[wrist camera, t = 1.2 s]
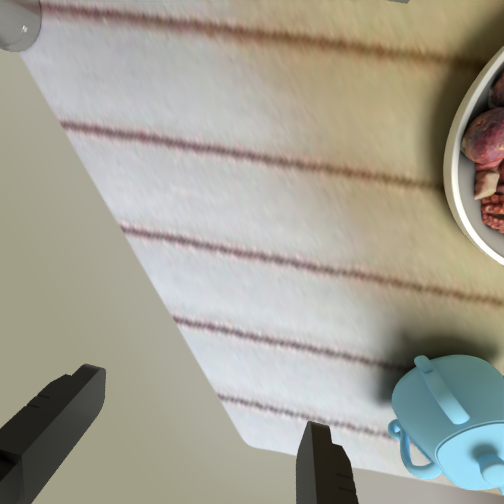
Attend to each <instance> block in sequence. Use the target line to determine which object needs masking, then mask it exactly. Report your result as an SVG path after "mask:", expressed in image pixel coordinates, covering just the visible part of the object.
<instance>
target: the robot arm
mask: <svg viewBox="0 0 504 504" xmlns="http://www.w3.org/2000/svg"><path fill="white" fill-rule="evenodd" d="M40 26H41V10H40V5H39V1H38V0H0V48H1V49H3V50H6V51H10V52H20V51H23V50H25V49H27V48H28V47H30V46H31V45H32V44H33V43H34V41H35V40H36V38H37V36H38V34H39V30H40ZM105 379H106V370H105V369H104V368H101V367H96V366H93V365H89V364H84V365H82V366H81V367H80V368H79V369H78V370H77V371H76V372H75V373H74V374H73V375H72V376H71V375H67V374H65V375H63V376H61V377H60V378H58V379H56V380H54V381H52V382H50V383H49V384H48V385H47V386H46V387H45V388H44V389H43V390H42V391H41V392H39V393H38V395H37V396H36V397H34V398H33V399H32V400H31V401H30V402H29V403H28V404H27V406H24V407H23V408H22V409H21V410H20V411H19V412H18V413H17V414H16V415H15V416H13V417H12V419H10V420H9V421H8V422H7V423H6V424H5V425H4V426H3V427H2V428H1V429H0V504H31V503H32V502H33V501H34V499H35V498H36V497H37V495H38V494H39V493H40V491H41V490H42V489H43V487H44V486H45V485H46V483H47V482H48V481H49V479H50V478H51V477H52V475H53V474H54V473H55V471H56V470H57V469H58V467H59V466H60V465H61V463H62V462H63V461H64V459H65V458H66V457H67V455H68V454H69V453H70V451H71V450H72V449H73V447H74V446H75V445H76V444H77V442H78V441H79V440H80V438H81V437H82V436H83V434H84V433H85V432H86V430H87V429H88V428H89V426H90V425H91V424H92V422H93V421H94V420H95V418H96V417H97V416H98V414H99V412H100V410H101V408H102V406H103V403H104V399H105ZM296 502H297V503H296V504H359V503H358V498H357V495H356V488H355V483H354V481H353V473H352V468H351V463H350V460H349V458H348V456H347V455H346V453H345V451H344V449H343V447H342V446H340V445H336V444H333V443H332V439H331V432H330V428H329V426H327V425H323V424H320V423H316V422H312V421H308V423H307V425H306V428H305V431H304V434H303V437H302V440H301V443H300V446H299V449H298V453H297V459H296Z"/></svg>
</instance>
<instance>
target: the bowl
mask: <svg viewBox="0 0 504 504" xmlns="http://www.w3.org/2000/svg"><path fill="white" fill-rule="evenodd" d="M443 177H444V187H445V193H446V197H447V201H448V204H449V207H450V210H451V212H452V214H453V217H454V219H455V221H456V222H457V224H458V226H459V227H460V229H461V230H462V232H463V233H464V234H465V235H466V237H467V238H468V239H469V240H470V241H471V242H472V243H473V244H474V245H475V246H476V247H477V248H478V249H479V250H480V251H482V252H483V253H484V254H486V255H487V256H488V257H490V258H491V259H493V260H495V261H496V262H498V263H500V264H502V265H504V46H503V47H502V48H501V49H500V50H499V51H498V52H497V53H496V54H495V55H494V56H493V57H492V59H491V60H490V61H489V62H488V63H487V64H486V66H485V67H484V68H483V70H482V71H481V72H480V73H479V75H478V76H477V78H476V79H475V81H474V82H473V83H472V85H471V87H470V88H469V90H468V91H467V93H466V95H465V97H464V98H463V100H462V102H461V104H460V106H459V108H458V110H457V112H456V115H455V117H454V120H453V122H452V125H451V128H450V131H449V135H448V138H447V143H446V148H445V154H444V165H443Z"/></svg>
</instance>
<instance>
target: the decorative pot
mask: <svg viewBox="0 0 504 504" xmlns="http://www.w3.org/2000/svg"><path fill="white" fill-rule="evenodd" d="M414 363H415V365H416V367H415V368H413V369H412V370H410V371H409V372H408V373H407V374H405V375H404V376H403V377H402V378H401V379H400V380H399V382H398V383H397V385H396V386H395V388H394V391H393V394H392V407H393V409H394V412H395V414H396V416H397V418H398V419H395V420H393V421H391V422H390V423H389V425H388V431H389V434H390V436H391V437H392V438H393V439H395V440H400V452H401V458H402V461H403V463H404V465H405V467H406V469H407V470H408V471H409V472H410V473H411V474H413V475H414V476H416V477H418V478H422V479H433V478H435V477H437V476H439V475H440V474H441V473H442V474H444V475H445V476H446V477H447V478H448V479H449V480H450V481H452V482H453V483H454V484H455V485H457V486H459V487H461V488H463V489H468V490H485V489H491V488H496V487H498V488H499V490H500V491H501V493H502V494H503V495H504V376H502V375H501V374H500V372H499V371H498V370H497V369H496V368H495V367H494V366H492V365H491V364H490V363H488V362H486V361H485V360H483V359H480V358H478V357H474V356H469V355H448V356H443V357H439V358H435V359H432V360H429V359H428V358H427V357H426V356H423V355H421V356H417V357H416V358H415V360H414ZM398 430H400V431H399V432H397V431H398ZM410 440H411V441H412V443H413V444H414V445H415V446H416V447H417V449H418V450H419V451H420V452H421V453H422V454H423V455H424V456H425V457H426V458H427V459H428V460H429V461H430V462H431V463H430V464H427V465H425V466H415V465H413V464H412V462H411V458H410Z"/></svg>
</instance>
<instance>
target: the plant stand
mask: <svg viewBox="0 0 504 504" xmlns="http://www.w3.org/2000/svg"><path fill="white" fill-rule="evenodd" d="M389 1H395V2H401V3H408V2H409V0H389Z"/></svg>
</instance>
